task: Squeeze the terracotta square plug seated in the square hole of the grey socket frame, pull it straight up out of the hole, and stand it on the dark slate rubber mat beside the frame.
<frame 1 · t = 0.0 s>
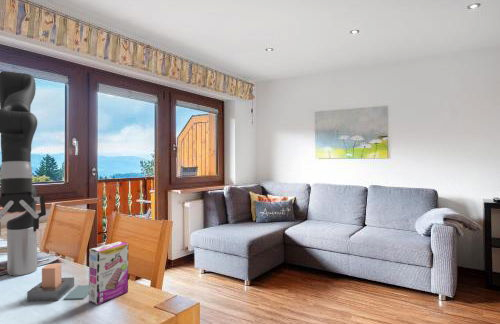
hand: (17, 233, 94), 22 cm above the table, tool pointing down, fingers open, 8 cm apart
grey socket frame: (52, 293, 105), on the table
candy bar box: (109, 297, 102), on the table
plug: (51, 279, 105), in the grey socket frame
mat: (80, 292, 106), on the table
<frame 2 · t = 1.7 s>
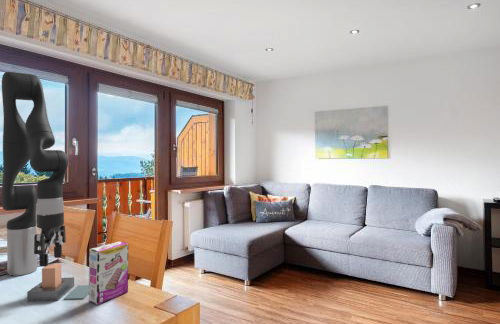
hand: (51, 261, 104), 11 cm above the table, tool pointing down, fingers open, 8 cm apart
nothing on the table moved.
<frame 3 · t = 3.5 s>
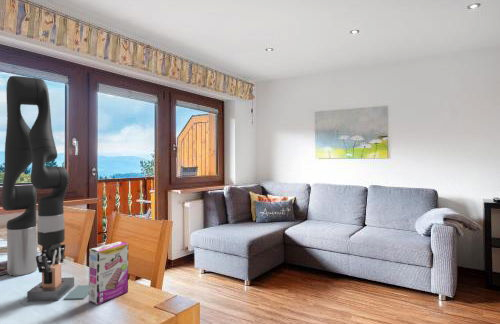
hand: (51, 280, 105), 4 cm above the table, tool pointing down, fingers closed on plug, 4 cm apart
plug: (51, 279, 105), in the grey socket frame, touching gripper
everything else where it was.
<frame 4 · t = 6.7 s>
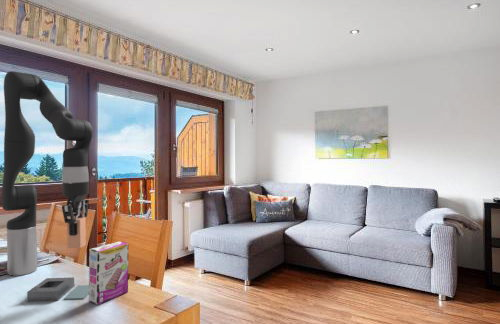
hand: (76, 233, 105), 20 cm above the table, tool pointing down, fingers closed on plug, 4 cm apart
plug: (76, 232, 105), point 20 cm above the table, touching gripper
everything else where it was.
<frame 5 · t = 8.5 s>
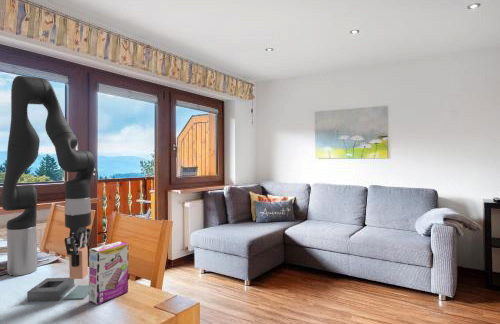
hand: (78, 263, 105), 10 cm above the table, tool pointing down, fingers closed on plug, 4 cm apart
plug: (78, 262, 105), point 10 cm above the table, touching gripper
everything else where it was.
when the fingers open (6 cm above the table, at t = 10.0 s): plug drops 2 cm, resting on mat.
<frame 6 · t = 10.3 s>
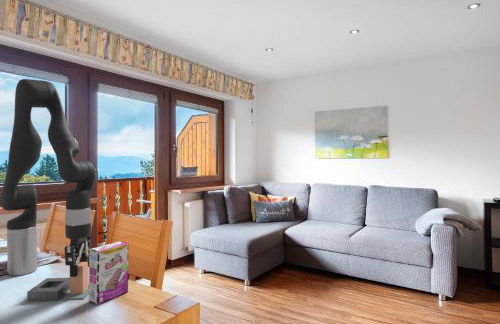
hand: (79, 272, 105), 7 cm above the table, tool pointing down, fingers open, 6 cm apart
plug: (79, 277, 106), on the mat
everything else where it was.
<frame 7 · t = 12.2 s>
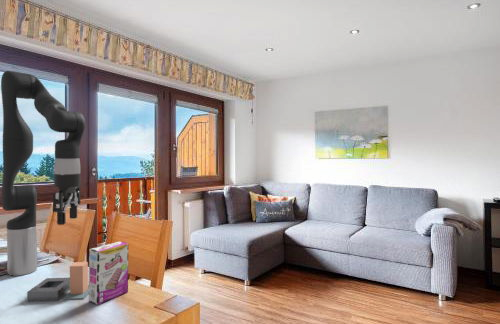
hand: (67, 221, 106), 23 cm above the table, tool pointing down, fingers open, 8 cm apart
nothing on the table moved.
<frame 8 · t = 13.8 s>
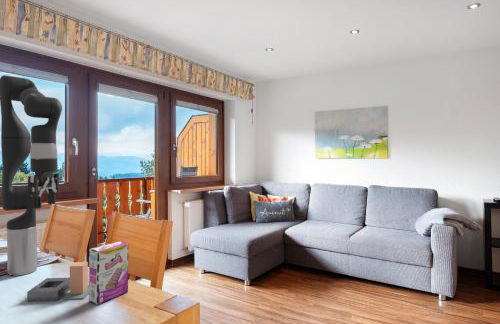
hand: (44, 206, 107), 28 cm above the table, tool pointing down, fingers open, 8 cm apart
nothing on the table moved.
at the end: plug inside the target area on the mat (0.6 cm from its centre), point 4.9 cm above the mat's base; plug tilted 0°; the gripper is holding nothing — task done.
